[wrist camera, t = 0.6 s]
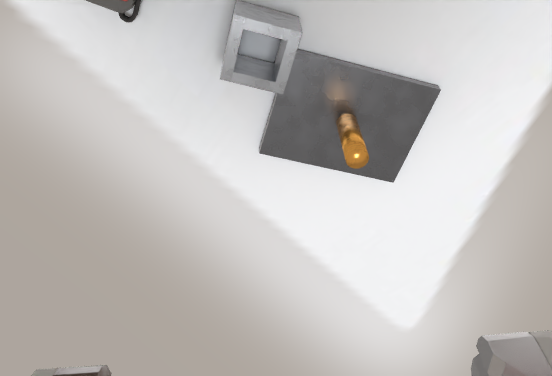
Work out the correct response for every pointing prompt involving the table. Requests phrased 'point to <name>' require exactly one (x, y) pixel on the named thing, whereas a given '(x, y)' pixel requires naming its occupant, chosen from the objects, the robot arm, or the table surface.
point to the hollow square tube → (256, 69)
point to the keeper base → (340, 95)
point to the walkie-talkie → (120, 7)
